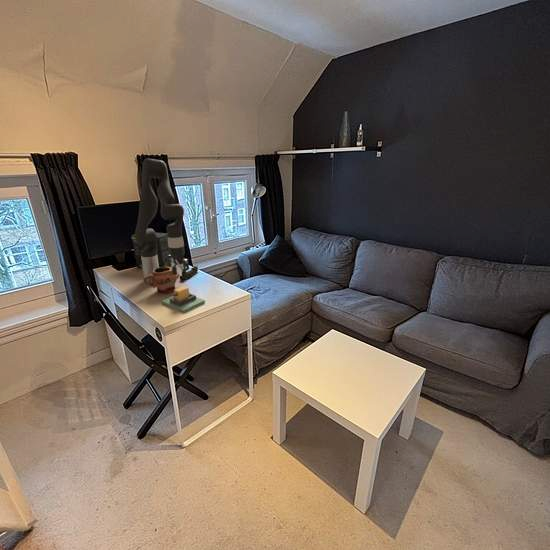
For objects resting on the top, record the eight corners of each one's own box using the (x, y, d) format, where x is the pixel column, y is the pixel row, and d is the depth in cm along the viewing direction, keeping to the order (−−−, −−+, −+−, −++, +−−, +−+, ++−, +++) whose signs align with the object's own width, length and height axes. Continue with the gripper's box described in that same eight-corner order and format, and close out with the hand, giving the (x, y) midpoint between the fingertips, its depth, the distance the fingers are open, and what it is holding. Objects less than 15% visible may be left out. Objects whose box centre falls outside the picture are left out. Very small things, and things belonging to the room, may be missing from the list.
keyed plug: (172, 303, 156) (170, 291, 153) (185, 297, 163) (184, 285, 160) (177, 305, 154) (175, 293, 151) (190, 299, 161) (189, 287, 158)
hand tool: (184, 282, 188) (184, 275, 186) (179, 281, 189) (178, 274, 187) (201, 272, 204) (200, 265, 203) (196, 271, 206) (195, 265, 204)
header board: (161, 303, 159) (161, 297, 158) (182, 294, 170) (182, 288, 169) (184, 312, 150) (183, 306, 148) (204, 302, 160) (204, 296, 159)
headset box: (136, 268, 210) (130, 232, 201) (147, 262, 221) (142, 228, 211) (163, 271, 204) (158, 234, 195) (173, 266, 215) (169, 230, 205)
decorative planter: (150, 300, 163) (146, 276, 158) (142, 292, 171) (138, 270, 166) (184, 290, 175) (182, 268, 170) (175, 284, 183) (173, 262, 178)
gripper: (191, 245, 147) (194, 277, 153) (173, 241, 154) (176, 271, 160) (179, 249, 141) (182, 281, 147) (160, 244, 148) (164, 275, 154)
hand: (179, 276), depth 154 cm, fingers open, 7 cm apart
